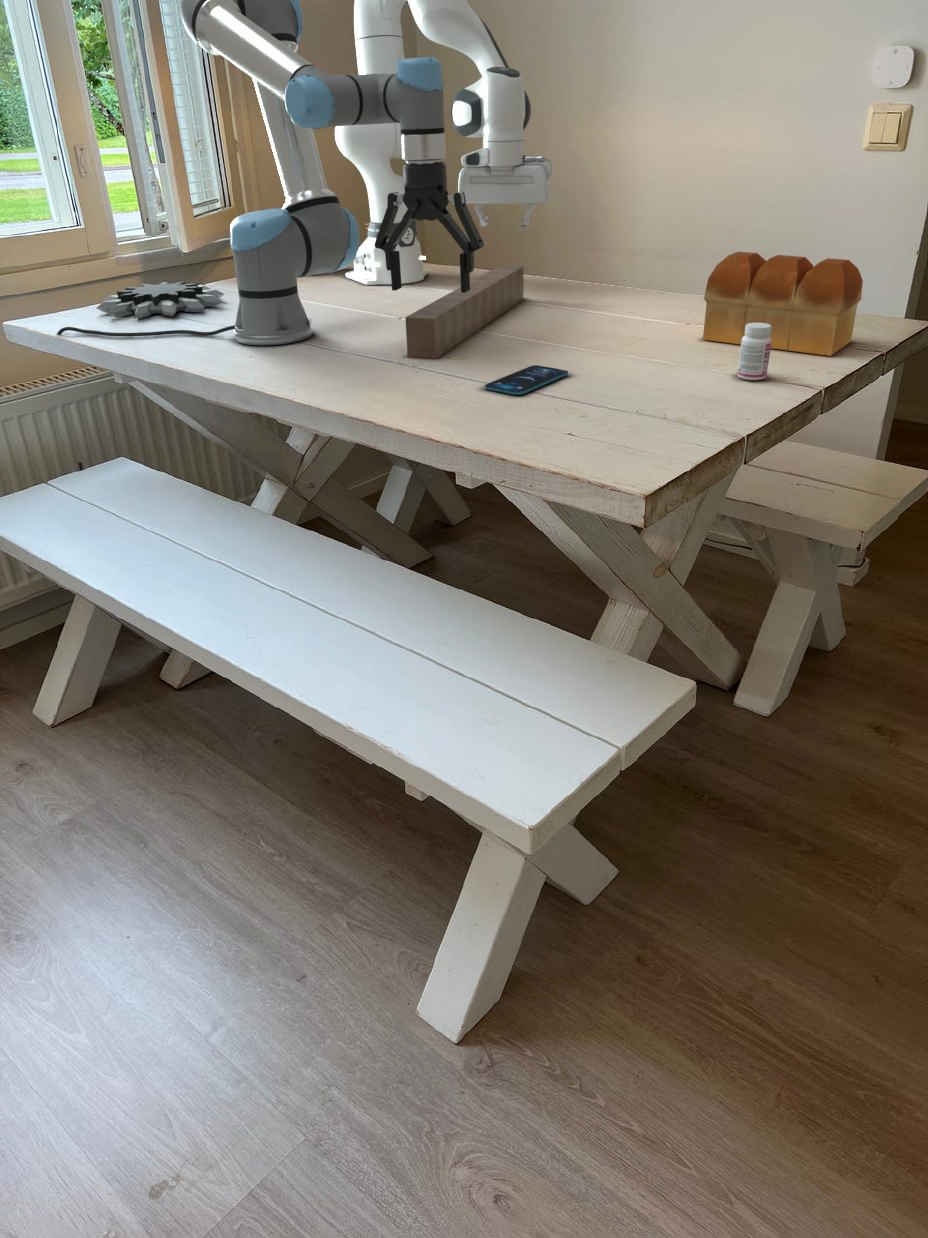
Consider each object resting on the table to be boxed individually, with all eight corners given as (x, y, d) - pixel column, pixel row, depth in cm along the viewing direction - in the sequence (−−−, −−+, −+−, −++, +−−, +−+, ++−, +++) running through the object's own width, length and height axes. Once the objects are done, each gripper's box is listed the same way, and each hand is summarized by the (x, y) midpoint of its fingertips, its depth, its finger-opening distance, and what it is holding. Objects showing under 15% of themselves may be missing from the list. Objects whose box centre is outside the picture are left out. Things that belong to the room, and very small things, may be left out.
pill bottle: (768, 380, 155) (775, 328, 150) (738, 380, 155) (744, 328, 151) (765, 372, 159) (772, 321, 155) (736, 372, 160) (742, 321, 155)
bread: (700, 339, 180) (707, 257, 172) (725, 326, 188) (734, 247, 181) (832, 356, 167) (847, 268, 159) (853, 341, 175) (868, 257, 168)
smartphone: (481, 385, 155) (533, 364, 165) (481, 389, 155) (533, 367, 165) (519, 392, 151) (570, 370, 161) (519, 396, 151) (570, 374, 161)
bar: (435, 358, 173) (433, 318, 170) (407, 356, 175) (405, 316, 171) (523, 299, 217) (523, 266, 214) (500, 297, 219) (500, 265, 215)
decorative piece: (147, 307, 200) (64, 294, 216) (150, 326, 202) (68, 311, 217) (252, 283, 221) (169, 272, 237) (255, 300, 223) (172, 288, 238)
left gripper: (499, 158, 161) (501, 288, 172) (368, 161, 169) (377, 284, 180) (485, 162, 155) (488, 296, 166) (349, 164, 163) (360, 291, 174)
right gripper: (555, 154, 198) (554, 224, 205) (464, 154, 205) (466, 223, 212) (547, 156, 193) (546, 228, 200) (454, 157, 200) (456, 227, 206)
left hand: (430, 290), depth 173 cm, fingers open, 13 cm apart
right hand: (504, 226), depth 206 cm, fingers open, 8 cm apart
